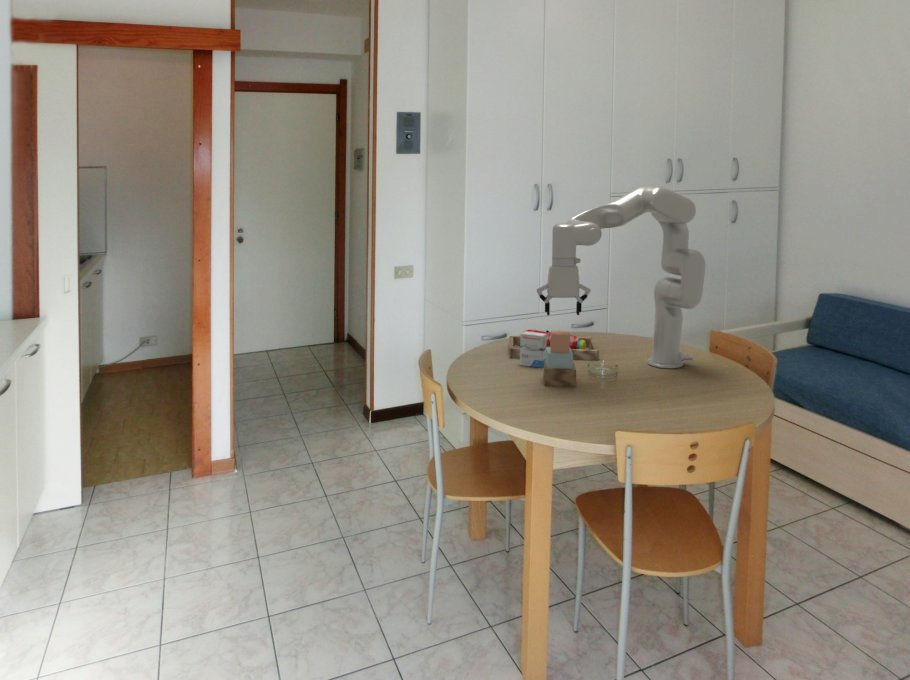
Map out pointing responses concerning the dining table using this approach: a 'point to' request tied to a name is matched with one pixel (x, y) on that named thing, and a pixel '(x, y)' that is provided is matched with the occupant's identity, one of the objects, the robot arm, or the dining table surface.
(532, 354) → the ink box
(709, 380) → the dining table surface
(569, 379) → the walnut block
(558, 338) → the rust cube
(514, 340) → the bottle cradle
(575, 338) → the water bottle
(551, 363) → the teal block
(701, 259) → the robot arm
